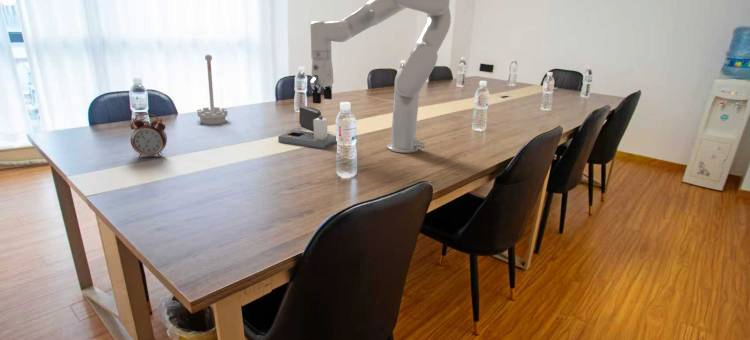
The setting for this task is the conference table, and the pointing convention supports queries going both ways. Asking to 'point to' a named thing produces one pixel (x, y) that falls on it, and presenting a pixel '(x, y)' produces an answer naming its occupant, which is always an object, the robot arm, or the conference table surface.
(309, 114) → the leaning round-cornered charcoal block
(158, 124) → the alarm clock
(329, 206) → the conference table surface
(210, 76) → the flag stand
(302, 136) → the panel
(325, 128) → the plug
